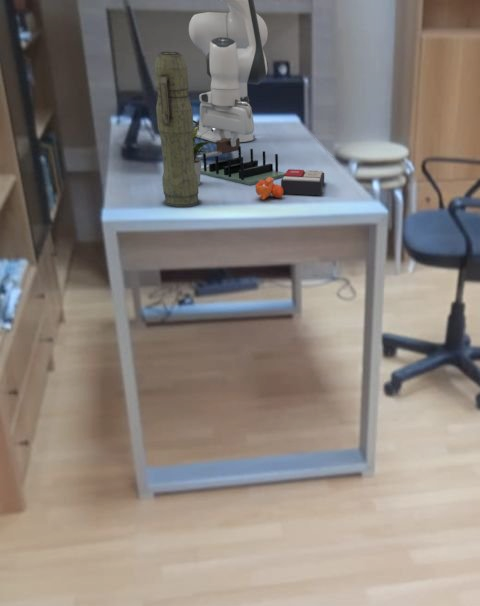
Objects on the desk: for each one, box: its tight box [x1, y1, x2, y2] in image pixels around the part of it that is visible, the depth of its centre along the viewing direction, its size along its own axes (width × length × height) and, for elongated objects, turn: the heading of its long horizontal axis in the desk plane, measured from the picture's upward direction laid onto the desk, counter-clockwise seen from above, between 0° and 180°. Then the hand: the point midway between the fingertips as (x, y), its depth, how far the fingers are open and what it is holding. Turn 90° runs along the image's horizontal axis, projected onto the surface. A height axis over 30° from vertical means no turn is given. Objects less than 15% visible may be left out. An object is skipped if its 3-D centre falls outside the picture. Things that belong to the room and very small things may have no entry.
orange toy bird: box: [254, 177, 284, 201], centre depth 210 cm, size 5×8×12 cm
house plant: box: [192, 126, 214, 186], centre depth 215 cm, size 14×14×16 cm
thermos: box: [154, 51, 200, 208], centre depth 194 cm, size 9×12×35 cm
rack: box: [200, 145, 286, 186], centre depth 231 cm, size 22×16×6 cm
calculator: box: [280, 168, 325, 196], centre depth 220 cm, size 11×4×15 cm
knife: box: [196, 138, 241, 160], centre depth 244 cm, size 17×2×4 cm, turn 144°
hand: (228, 145), depth 247 cm, fingers closed on knife, 2 cm apart
